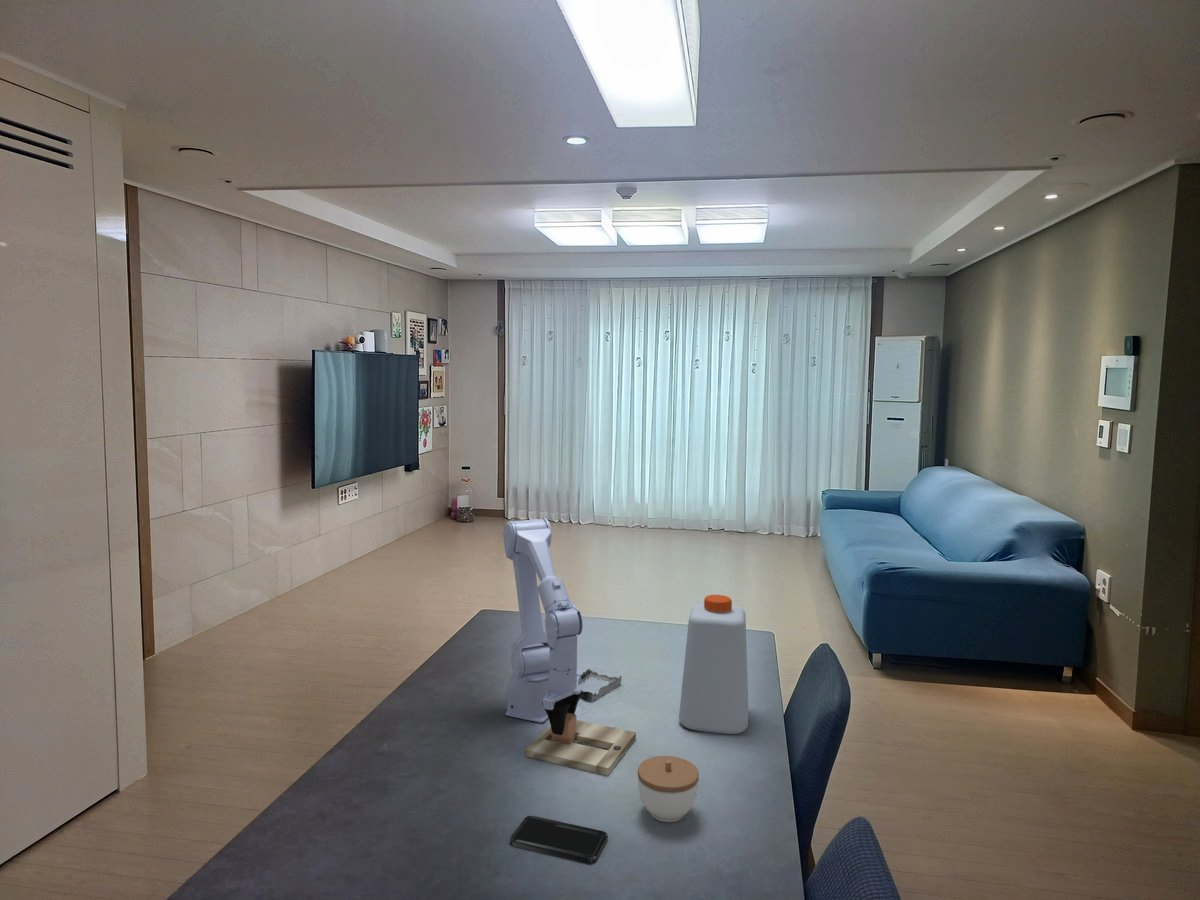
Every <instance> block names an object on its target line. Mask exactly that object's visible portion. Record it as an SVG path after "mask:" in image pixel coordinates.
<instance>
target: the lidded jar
mask: <svg viewBox="0 0 1200 900" xmlns="http://www.w3.org/2000/svg"><path fill="white" fill-rule="evenodd" d="M699 773H700V772H699V769H698V768H697V766H696V765H695V764H693V763H692V762H691V761H689V760H688V759H687V760H686V758H685V759H684V758H681V757H679V756H678V757H677V756H674V755H673V756H672V755H658V756H652V757H648V758H647V759H644V760H643V761H641V763H640V764H639V765H638V767H637V777H638V778H637V785H638V795H639V798H640V801H641V803H642V805H643V807H644V808H645V809H646V810H647V812H648V813H650V816H651V817H652V818H653V819H655V820H657V821H659V822H663V823H675V822H678V821H680V820H682V819H683V817H684V816H685V815H687V814H688V813H689V812H690V811H691V809H692V807H694V804H695V802H696V800H697V799H696V798H697V796H698V789H699V788H698V784H699V783H698V782H699V779H700V778H699V776H700V774H699Z"/></svg>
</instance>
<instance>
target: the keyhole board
mask: <svg viewBox="0 0 1200 900" xmlns="http://www.w3.org/2000/svg"><path fill="white" fill-rule="evenodd" d="M636 739H637V732H635V731H631V730H626V729H622V728H618V727H617V728H616V727H613V726H612V727H611V726H608V725H603V724H602V725H601V724H597V723H593V722H587V721H583V720H578V719H576V731H575V740H577V741H576V743H575V742H571V743H570V744H569V745H567V744H562V743H558V742H553V741H552V735H551V725H550V724H549V726H547V727H546V728H545V729H544V730H543V731H542V733H541V734H539V735H538V736H537V737H536V738H535V739H534V740H533V741H532V742H531V743H529V745H528V746H527V747H526V748H525V749H524V757H525V756H528V757H527V758H530V757H532V758H531V759H534V758H535V759H534V760H538V759H540V761H542V760H543V761H544V762H546V763H551V764H557V765H560V766H564V767H570V768H573V769H578V770H583V771H586V772H591V773H596V774H599V775H603V776H609V775H610V774H611V773H612V771H613V770H614V769H615V767H616V766H617V765H618V763H619V762H620V761H621V759H622V758H623V757H624V756H625V754H626V753H627V751H628V750H629V749H630V747H631V746H632V745H631V744H633V743H634V742H635V741H636ZM634 740H635V741H634ZM633 741H634V742H633ZM582 743H584V744H582ZM587 744H589V745H587ZM591 745H593V746H591ZM630 745H631V746H630ZM596 746H597V747H596ZM601 747H602V748H601ZM605 748H606V749H605ZM628 748H629V749H628ZM627 749H628V750H627ZM625 752H626V753H625Z"/></svg>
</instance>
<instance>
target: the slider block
mask: <svg viewBox="0 0 1200 900" xmlns="http://www.w3.org/2000/svg"><path fill="white" fill-rule="evenodd" d="M576 720H577V714H576V713H575V714H571V713H567V714H566V718H565V725H564V731H563V734H562V735H557V734H553V733H552V729H551V735H552V739H551V741H553V742H557V743H562V744H566V745H569V744H570V743H571V742H572V743H574V742H575V740H576V739H575V731H576Z"/></svg>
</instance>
